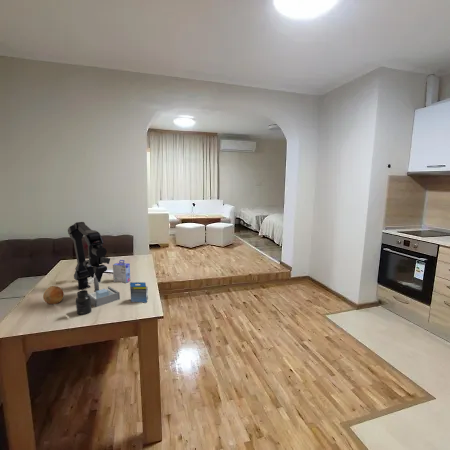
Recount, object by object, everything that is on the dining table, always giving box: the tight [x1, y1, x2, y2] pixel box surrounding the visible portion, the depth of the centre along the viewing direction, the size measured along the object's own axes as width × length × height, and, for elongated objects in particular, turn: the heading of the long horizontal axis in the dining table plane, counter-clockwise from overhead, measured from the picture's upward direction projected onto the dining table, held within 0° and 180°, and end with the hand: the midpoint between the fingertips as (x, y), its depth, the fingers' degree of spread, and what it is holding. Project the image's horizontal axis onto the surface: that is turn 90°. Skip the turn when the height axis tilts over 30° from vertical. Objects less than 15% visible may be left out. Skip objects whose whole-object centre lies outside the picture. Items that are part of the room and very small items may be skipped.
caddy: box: [89, 276, 114, 299], centre depth 159 cm, size 14×11×12 cm
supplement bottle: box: [75, 289, 93, 316], centre depth 144 cm, size 7×7×12 cm
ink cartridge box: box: [112, 259, 131, 284], centre depth 187 cm, size 10×6×14 cm, turn 78°
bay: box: [88, 285, 121, 308], centre depth 159 cm, size 13×14×5 cm
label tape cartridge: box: [129, 281, 149, 304], centre depth 158 cm, size 9×4×12 cm, turn 91°
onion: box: [42, 285, 65, 305], centre depth 155 cm, size 10×10×10 cm
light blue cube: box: [96, 288, 109, 299], centre depth 159 cm, size 5×5×5 cm
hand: (96, 279), depth 162 cm, fingers open, 9 cm apart
